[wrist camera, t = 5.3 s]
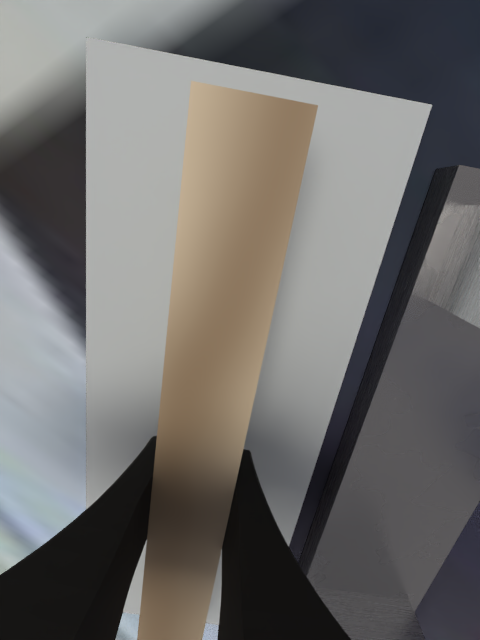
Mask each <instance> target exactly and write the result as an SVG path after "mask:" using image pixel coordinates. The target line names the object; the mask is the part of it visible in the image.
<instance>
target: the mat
mask: <svg viewBox="0 0 480 640" xmlns="http://www.w3.org/2000/svg"><path fill="white" fill-rule="evenodd" d="M191 81H195V82H201V83H206V84H211V85H216V86H221V87H226V88H232V89H237V90H242V91H247V92H252V93H257V94H262V95H268V96H273V97H278V98H283V99H288V100H293V101H299V102H304V103H309V104H314V105H318V109H317V113H316V118H315V122H314V127H313V132H312V136H311V141H310V145H309V150H308V155H307V159H306V164H305V168H304V173H303V178H302V182H301V187H300V191H299V196H298V200H297V205H296V210H295V214H294V219H293V223H292V228H291V233H290V237H289V242H288V246H287V251H286V256H285V260H284V265H283V269H282V274H281V279H280V283H279V288H278V292H277V297H276V302H275V306H274V311H273V315H272V320H271V325H270V329H269V334H268V338H267V343H266V348H265V352H264V357H263V361H262V366H261V371H260V375H259V380H258V384H257V389H256V394H255V398H254V403H253V407H252V412H251V416H250V421H249V426H248V430H247V435H246V439H245V444H244V449H246V450H249V451H250V452H251V454H252V459H253V463H254V466H255V470H256V473H257V476H258V479H259V482H260V485H261V487H262V490H263V493H264V495H265V498H266V500H267V503H268V505H269V507H270V510H271V512H272V514H273V516H274V519H275V521H276V523H277V525H278V527H279V529H280V531H281V533H282V535H283V537H284V539H285V541H286V543H287V545H288V547H289V545H290V542H291V538H292V535H293V532H294V529H295V526H296V523H297V520H298V517H299V514H300V511H301V508H302V505H303V501H304V498H305V495H306V492H307V489H308V486H309V483H310V480H311V477H312V474H313V471H314V468H315V464H316V461H317V458H318V455H319V452H320V449H321V446H322V443H323V440H324V437H325V434H326V431H327V427H328V424H329V421H330V418H331V415H332V412H333V409H334V406H335V403H336V400H337V397H338V394H339V390H340V387H341V384H342V381H343V378H344V375H345V372H346V369H347V366H348V363H349V360H350V357H351V353H352V350H353V347H354V344H355V341H356V338H357V335H358V332H359V329H360V326H361V323H362V320H363V317H364V313H365V310H366V307H367V304H368V301H369V298H370V295H371V292H372V289H373V286H374V283H375V280H376V276H377V273H378V270H379V267H380V264H381V261H382V258H383V255H384V252H385V249H386V246H387V243H388V239H389V236H390V233H391V230H392V227H393V224H394V221H395V218H396V215H397V212H398V209H399V206H400V202H401V199H402V196H403V193H404V190H405V187H406V184H407V181H408V178H409V175H410V172H411V169H412V165H413V162H414V159H415V156H416V153H417V150H418V147H419V144H420V141H421V138H422V135H423V132H424V128H425V125H426V122H427V119H428V116H429V113H430V110H431V107H432V105H430V104H425V103H420V102H415V101H410V100H405V99H400V98H394V97H389V96H384V95H379V94H374V93H369V92H364V91H359V90H354V89H349V88H344V87H339V86H333V85H328V84H323V83H318V82H313V81H308V80H303V79H298V78H293V77H288V76H283V75H278V74H272V73H267V72H262V71H257V70H252V69H247V68H242V67H237V66H232V65H227V64H222V63H217V62H211V61H206V60H201V59H196V58H191V57H186V56H181V55H176V54H171V53H166V52H161V51H156V50H150V49H145V48H140V47H135V46H130V45H125V44H120V43H115V42H110V41H105V40H100V39H95V38H89V37H86V509H87V508H89V507H90V506H91V505H92V504H93V503H94V502H95V501H96V500H97V499H98V498H99V497H100V496H101V495H102V494H103V493H104V492H105V491H106V490H107V489H108V488H109V487H110V486H111V485H112V484H113V483H114V482H115V481H116V480H117V479H118V478H119V477H120V476H121V475H122V473H123V472H124V471H125V470H126V469H127V468H128V467H129V466H130V464H131V463H132V462H133V461H134V460H135V458H136V457H137V456H138V455H139V454H140V452H141V451H142V450H143V448H144V447H145V446H146V444H147V443H148V442H149V440H150V439H151V438H152V437H153V436H157V430H158V419H159V409H160V399H161V388H162V378H163V367H164V357H165V347H166V336H167V326H168V315H169V305H170V295H171V284H172V274H173V263H174V253H175V243H176V232H177V222H178V211H179V201H180V191H181V180H182V170H183V159H184V149H185V139H186V128H187V118H188V107H189V97H190V87H191ZM146 544H147V540H146V543H145V545H144V548H143V551H142V554H141V556H140V559H139V562H138V565H137V567H136V570H135V573H134V576H133V579H132V582H131V585H130V588H129V592H128V595H127V599H126V602H125V606H124V609H123V613H131V614H139V615H140V607H141V596H142V586H143V575H144V565H145V555H146ZM221 587H222V550H221V554H220V559H219V564H218V568H217V573H216V577H215V582H214V587H213V591H212V596H211V600H210V605H209V610H208V614H207V619H206V623H208V624H216V625H219V618H220V606H221Z"/></svg>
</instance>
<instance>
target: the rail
mask: <svg viewBox="0 0 480 640" xmlns="http://www.w3.org/2000/svg"><path fill="white" fill-rule="evenodd" d="M317 109H318V105H314V104H309V103H304V102H299V101H293V100H288V99H283V98H278V97H273V96H268V95H262V94H257V93H252V92H247V91H242V90H237V89H232V88H226V87H221V86H216V85H211V84H206V83H201V82H195V81H191V87H190V97H189V107H188V118H187V128H186V139H185V149H184V159H183V170H182V180H181V191H180V201H179V211H178V222H177V232H176V243H175V253H174V263H173V274H172V284H171V295H170V305H169V315H168V326H167V336H166V347H165V357H164V367H163V378H162V388H161V399H160V409H159V419H158V430H157V440H156V451H155V461H154V471H153V482H152V492H151V503H150V513H149V523H148V534H147V544H146V555H145V565H144V575H143V586H142V596H141V607H140V617H139V627H138V638H137V640H202V637H203V632H204V628H205V623H206V619H207V614H208V610H209V605H210V600H211V596H212V591H213V587H214V582H215V577H216V573H217V568H218V564H219V559H220V554H221V550H222V545H223V541H224V536H225V531H226V527H227V522H228V518H229V513H230V508H231V504H232V499H233V495H234V490H235V485H236V481H237V476H238V472H239V467H240V462H241V458H242V453H243V449H244V444H245V439H246V435H247V430H248V426H249V421H250V416H251V412H252V407H253V403H254V398H255V394H256V389H257V384H258V380H259V375H260V371H261V366H262V361H263V357H264V352H265V348H266V343H267V338H268V334H269V329H270V325H271V320H272V315H273V311H274V306H275V302H276V297H277V292H278V288H279V283H280V279H281V274H282V269H283V265H284V260H285V256H286V251H287V246H288V242H289V237H290V233H291V228H292V223H293V219H294V214H295V210H296V205H297V200H298V196H299V191H300V187H301V182H302V178H303V173H304V168H305V164H306V159H307V155H308V150H309V145H310V141H311V136H312V132H313V127H314V122H315V118H316V113H317Z"/></svg>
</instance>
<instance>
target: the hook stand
mask: <svg viewBox="0 0 480 640" xmlns="http://www.w3.org/2000/svg"><path fill="white" fill-rule="evenodd" d="M479 501H480V169H478V168H472V167H467V166H462V165H457V166H451V167H445V168H439V169H436V171H435V174H434V177H433V179H432V182H431V185H430V188H429V191H428V194H427V197H426V199H425V202H424V205H423V208H422V211H421V214H420V217H419V220H418V222H417V225H416V228H415V231H414V234H413V237H412V240H411V242H410V245H409V248H408V251H407V254H406V257H405V260H404V263H403V265H402V268H401V271H400V274H399V277H398V280H397V283H396V285H395V288H394V291H393V294H392V297H391V300H390V303H389V305H388V308H387V311H386V314H385V317H384V320H383V323H382V326H381V328H380V331H379V334H378V337H377V340H376V343H375V346H374V348H373V351H372V354H371V357H370V360H369V363H368V366H367V368H366V371H365V374H364V377H363V380H362V383H361V386H360V389H359V391H358V394H357V397H356V400H355V403H354V406H353V409H352V411H351V414H350V417H349V420H348V423H347V426H346V429H345V431H344V434H343V437H342V440H341V443H340V446H339V449H338V452H337V454H336V457H335V460H334V463H333V466H332V469H331V472H330V474H329V477H328V480H327V483H326V486H325V489H324V492H323V494H322V497H321V500H320V503H319V506H318V509H317V512H316V515H315V517H314V520H313V523H312V526H311V529H310V532H309V535H308V537H307V540H306V543H305V546H304V549H303V552H302V555H301V558H300V560H299V563H298V564H299V566H300V567H301V569H302V571H303V572H304V574H305V575H306V577H307V578H308V580H309V581H310V583H311V584H312V586H313V587H314V589H315V591H316V592H317V594H318V595H319V597H320V598H321V600H322V601H323V602H324V604H325V605H326V607H327V608H328V609H329V611H330V612H331V614H332V615H333V616H334V618H335V619H336V620H337V622H338V623H339V624H340V626H341V627H342V628H343V630H344V631H345V632H346V633H347V635H348V636H349V637H350V639H351V640H425V637H424V635H423V633H422V630H421V628H420V625H419V623H418V620H417V618H416V615H415V613H414V612H415V610H416V608H417V607H418V605H419V603H420V602H421V600H422V598H423V597H424V595H425V593H426V591H427V590H428V588H429V586H430V585H431V583H432V581H433V580H434V578H435V576H436V574H437V573H438V571H439V569H440V568H441V566H442V564H443V562H444V561H445V559H446V557H447V556H448V554H449V552H450V551H451V549H452V547H453V545H454V544H455V542H456V540H457V539H458V537H459V535H460V534H461V532H462V530H463V528H464V527H465V525H466V523H467V522H468V520H469V518H470V516H471V515H472V513H473V511H474V510H475V508H476V506H477V505H478V503H479Z"/></svg>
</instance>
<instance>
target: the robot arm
mask: <svg viewBox="0 0 480 640" xmlns="http://www.w3.org/2000/svg"><path fill="white" fill-rule="evenodd" d="M156 440H157V436H153V437H152V438H151V439H150V440H149V442H148V443H147V444H146V446H145V447H144V448H143V450H142V451H141V452H140V454H139V455H138V456H137V457H136V458H135V460H134V461H133V462H132V463H131V464H130V466H129V467H128V468H127V469H126V470H125V471H124V472H123V473H122V475H121V476H120V477H119V478H118V479H117V480H116V481H115V482H114V483H113V484H112V485H111V486H110V487H109V488H108V489H107V490H106V491H105V492H104V493H103V494H102V495H101V496H100V497H99V498H98V499H97V500H96V501H95V502H94V503H93V504H92V505H91V506H90V507H89V508H87V509H86V510H85V511H84V512H83V513H82V514H81V515H80V516H78V517H77V518H76V519H75V520H74V521H73V522H71V523H70V524H69V525H68V526H66V527H65V528H64V529H63V530H62V531H60V532H59V533H58V534H57V535H55V536H54V537H53V538H52V539H50V540H49V541H48V542H46V543H45V544H44V545H42V546H41V547H40V548H38V549H37V550H35V551H34V552H33V553H31V554H30V555H28V556H27V557H26V558H24V559H23V560H21V561H20V562H18V563H17V564H16V565H14V566H13V567H11V568H10V569H8V570H7V571H5V572H4V573H2V574H1V575H0V640H115V638H116V635H117V631H118V627H119V624H120V620H121V616H122V613H123V609H124V606H125V602H126V599H127V595H128V592H129V588H130V585H131V582H132V579H133V576H134V573H135V570H136V567H137V565H138V562H139V559H140V556H141V554H142V551H143V548H144V545H145V543H146V540H147V534H148V523H149V513H150V503H151V492H152V482H153V471H154V461H155V451H156ZM218 640H351V639H350V637H349V636H348V635H347V633H346V632H345V631H344V630H343V628H342V627H341V626H340V624H339V623H338V622H337V620H336V619H335V618H334V616H333V615H332V614H331V612H330V611H329V609H328V608H327V607H326V605H325V604H324V602H323V601H322V600H321V598H320V597H319V595H318V594H317V592H316V591H315V589H314V587H313V586H312V584H311V583H310V581H309V580H308V578H307V577H306V575H305V574H304V572H303V571H302V569H301V567H300V566H299V564H298V562H297V561H296V559H295V557H294V555H293V554H292V552H291V550H290V548H289V547H288V545H287V543H286V541H285V539H284V537H283V535H282V533H281V531H280V529H279V527H278V525H277V523H276V521H275V519H274V516H273V514H272V512H271V510H270V507H269V505H268V503H267V500H266V498H265V495H264V493H263V490H262V487H261V485H260V482H259V479H258V476H257V473H256V470H255V466H254V463H253V459H252V454H251V452H250V451H249V450H246V449H243V453H242V458H241V462H240V467H239V472H238V476H237V481H236V485H235V490H234V495H233V499H232V504H231V508H230V513H229V518H228V522H227V527H226V531H225V536H224V541H223V545H222V587H221V606H220V618H219V630H218Z"/></svg>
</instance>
